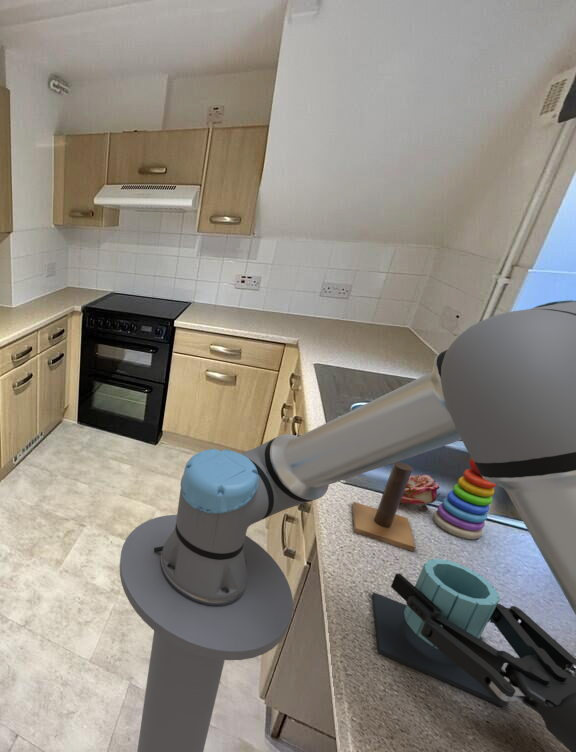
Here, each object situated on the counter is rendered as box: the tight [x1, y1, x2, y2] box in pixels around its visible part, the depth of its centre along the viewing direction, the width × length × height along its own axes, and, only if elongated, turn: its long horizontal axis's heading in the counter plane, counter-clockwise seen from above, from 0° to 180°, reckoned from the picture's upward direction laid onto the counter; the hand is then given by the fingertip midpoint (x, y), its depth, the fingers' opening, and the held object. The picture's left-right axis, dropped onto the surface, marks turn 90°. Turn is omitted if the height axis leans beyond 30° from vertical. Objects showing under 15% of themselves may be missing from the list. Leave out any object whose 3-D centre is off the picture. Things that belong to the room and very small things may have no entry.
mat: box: [371, 592, 504, 708], centre depth 64 cm, size 14×12×1 cm
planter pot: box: [404, 558, 501, 649], centre depth 62 cm, size 8×8×10 cm
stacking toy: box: [432, 457, 498, 540], centre depth 86 cm, size 8×8×19 cm
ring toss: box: [351, 461, 416, 552], centre depth 86 cm, size 10×10×16 cm
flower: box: [400, 473, 441, 511], centre depth 95 cm, size 10×9×8 cm
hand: (419, 577), depth 66 cm, fingers closed on planter pot, 8 cm apart
